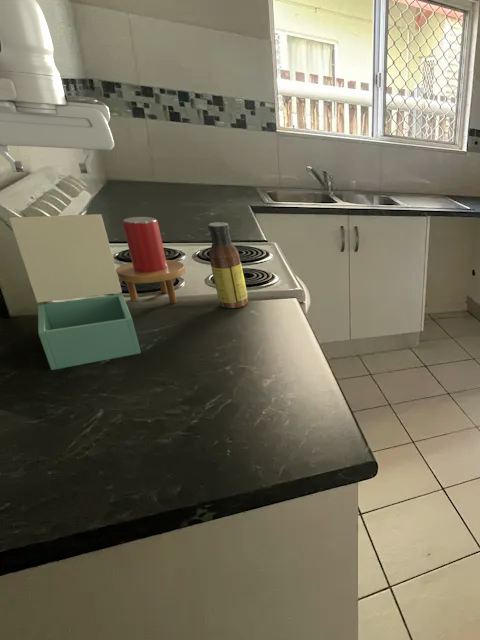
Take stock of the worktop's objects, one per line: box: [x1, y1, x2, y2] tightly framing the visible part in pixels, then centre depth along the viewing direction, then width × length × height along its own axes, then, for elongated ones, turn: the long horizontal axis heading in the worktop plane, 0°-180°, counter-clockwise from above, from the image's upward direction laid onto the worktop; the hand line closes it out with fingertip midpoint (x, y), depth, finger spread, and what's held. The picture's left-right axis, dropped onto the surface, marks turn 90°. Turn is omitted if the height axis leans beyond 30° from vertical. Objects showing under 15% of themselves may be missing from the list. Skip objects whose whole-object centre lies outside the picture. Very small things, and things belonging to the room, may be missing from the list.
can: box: [121, 216, 167, 272], centre depth 109 cm, size 6×6×11 cm
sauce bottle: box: [207, 221, 249, 309], centre depth 111 cm, size 6×6×20 cm
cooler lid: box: [8, 213, 123, 304], centre depth 90 cm, size 15×13×1 cm
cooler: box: [37, 293, 142, 371], centre depth 89 cm, size 15×13×8 cm
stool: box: [116, 259, 186, 304], centre depth 113 cm, size 13×13×8 cm
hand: (53, 172), depth 90 cm, fingers open, 8 cm apart
